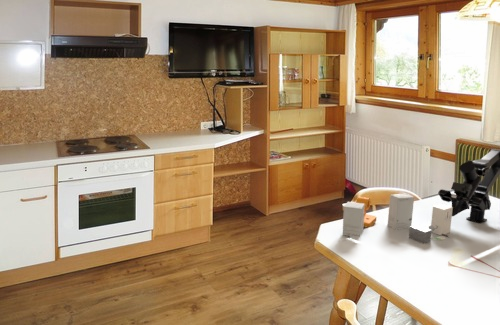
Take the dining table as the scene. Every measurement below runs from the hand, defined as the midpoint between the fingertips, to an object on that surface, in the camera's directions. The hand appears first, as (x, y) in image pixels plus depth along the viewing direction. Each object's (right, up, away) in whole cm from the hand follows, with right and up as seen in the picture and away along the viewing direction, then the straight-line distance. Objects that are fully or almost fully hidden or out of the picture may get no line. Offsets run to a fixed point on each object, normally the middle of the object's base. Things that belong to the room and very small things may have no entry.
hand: (451, 215), depth 186 cm
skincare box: (-21, -6, +4) cm, 22 cm away
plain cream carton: (-7, -7, -5) cm, 11 cm away
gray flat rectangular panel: (-11, -8, -6) cm, 15 cm away
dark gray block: (-18, -8, -10) cm, 22 cm away
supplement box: (-42, -8, -2) cm, 42 cm away
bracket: (-34, -5, +10) cm, 36 cm away
